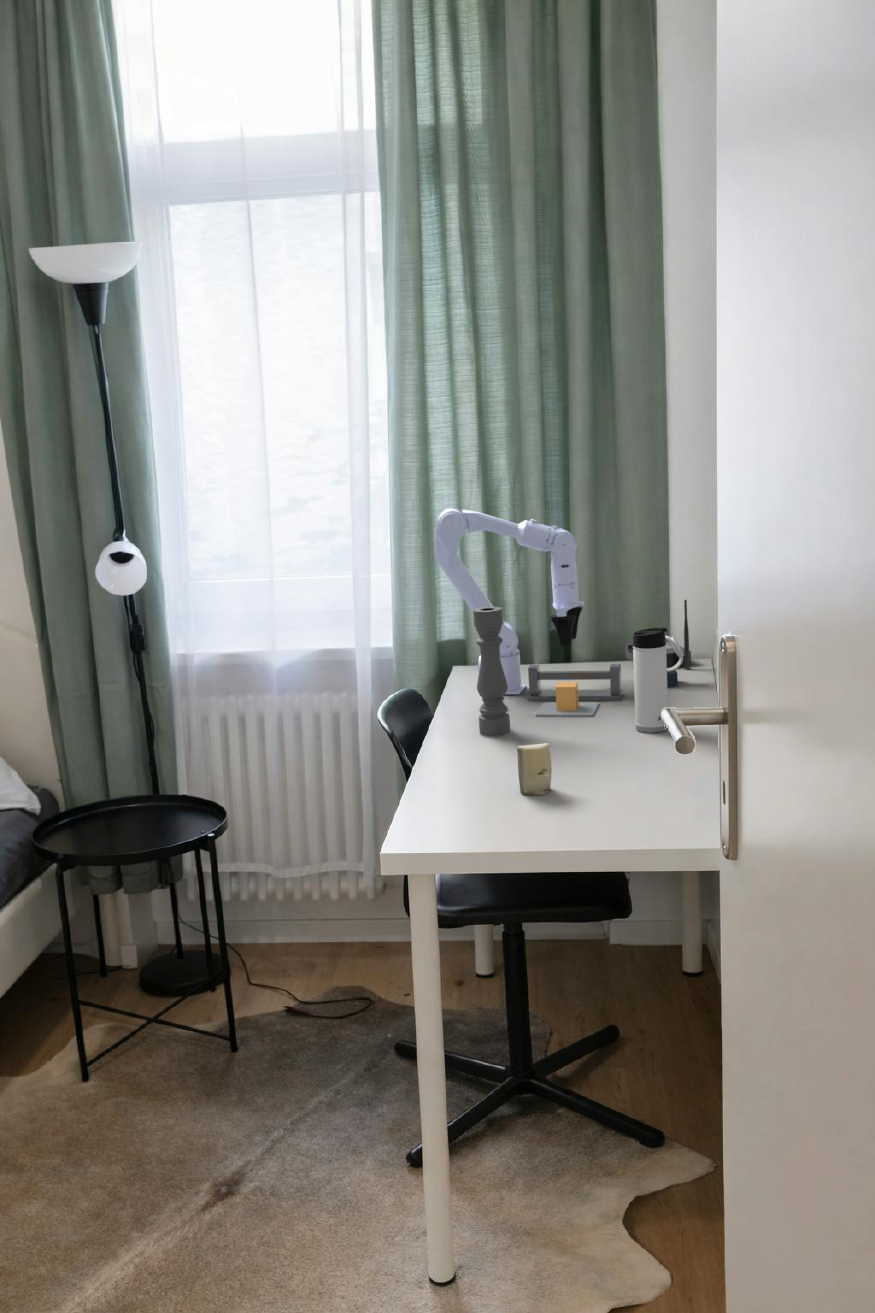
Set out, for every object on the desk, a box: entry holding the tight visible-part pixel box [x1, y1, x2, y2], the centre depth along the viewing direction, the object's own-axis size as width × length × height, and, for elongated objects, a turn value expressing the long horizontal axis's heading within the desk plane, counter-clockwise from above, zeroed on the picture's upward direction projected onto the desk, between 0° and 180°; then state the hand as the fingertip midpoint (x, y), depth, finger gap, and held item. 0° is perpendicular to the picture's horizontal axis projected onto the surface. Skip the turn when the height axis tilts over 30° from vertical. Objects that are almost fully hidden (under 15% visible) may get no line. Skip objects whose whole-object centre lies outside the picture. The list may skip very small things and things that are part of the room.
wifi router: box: [624, 599, 692, 670], centre depth 274 cm, size 20×14×17 cm
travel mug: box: [632, 626, 669, 734], centre depth 217 cm, size 6×7×20 cm
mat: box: [535, 701, 600, 717], centre depth 238 cm, size 12×10×1 cm
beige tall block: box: [516, 742, 553, 796], centre depth 187 cm, size 6×5×8 cm
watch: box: [665, 635, 684, 688], centre depth 253 cm, size 6×8×11 cm
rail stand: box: [527, 663, 623, 702], centre depth 247 cm, size 20×6×7 cm, turn 74°
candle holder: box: [472, 606, 511, 737], centre depth 223 cm, size 6×6×25 cm
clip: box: [555, 681, 580, 711], centre depth 237 cm, size 4×4×5 cm
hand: (568, 642), depth 256 cm, fingers open, 7 cm apart
